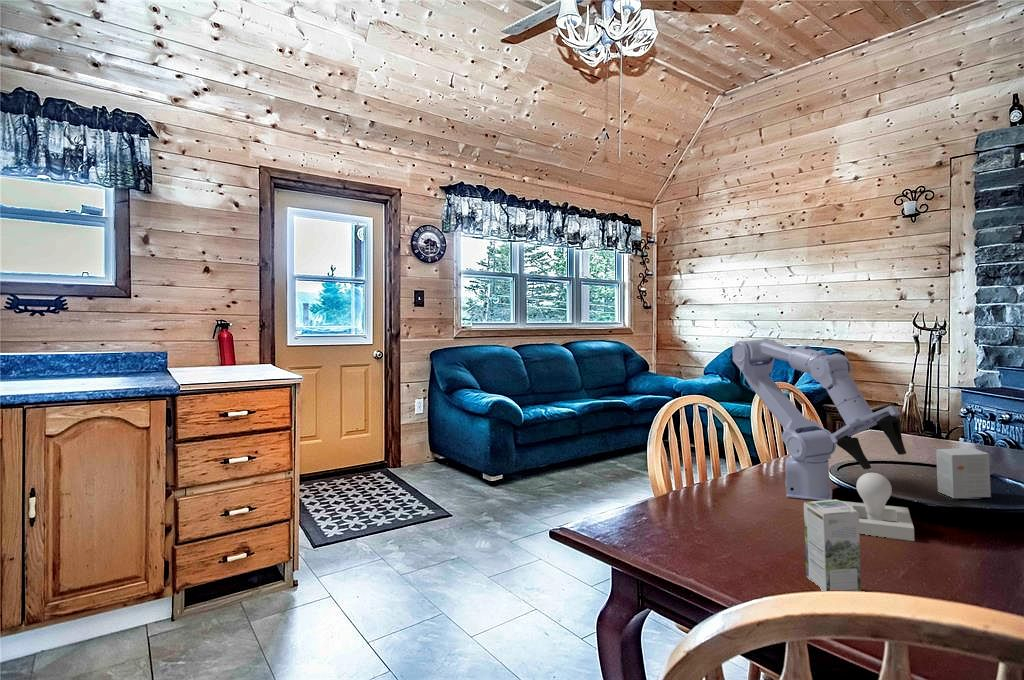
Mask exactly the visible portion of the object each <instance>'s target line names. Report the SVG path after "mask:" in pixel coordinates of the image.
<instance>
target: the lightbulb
mask: <svg viewBox="0 0 1024 680" xmlns="http://www.w3.org/2000/svg"><path fill="white" fill-rule="evenodd" d="M855 486H856V491H857V493H858V495H859V497H860V498H861V499H862V503H864V504H865V508H866V512H867V515H868V516H867V517H868V518H867V519H869V520H878V521H884V520H883V514H884V508H885V505H886V504H887V502H888V500H890V497H891V496H892V493H893V490H892V489H893V488H892V485H891V482H890V481H889V479H888V478H887V477H886V476H884V475H882V474H881V473H877V472H867V473H864V474H862V475H861V476H860V477H858V479H857V480H856V485H855Z"/></svg>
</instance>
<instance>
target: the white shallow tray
mask: <svg viewBox="0 0 1024 680" xmlns="http://www.w3.org/2000/svg"><path fill="white" fill-rule="evenodd" d="M841 501H842V502H844V503H846V504H847V505H849V506H851V507H852V508H853V509H855V510H856V511H857V512H859V533H860V534H865V535H864V536H868V535H871V536H870V537H876V536H878V538H884V537H886V539H891V540H892V539H893V540H899V541H900V540H902V541H907V542H908V541H910V542H915V527H914V524H913V520H912V518H911V513H910V510H909V507H906V506H905V507H904V506H896V505H895V506H894V505H886V504H885V508H884V514H883V521H878V520H869V519H868V517H867V516H868V515H867V512H866V508H865V504H864V502H854V501H846V500H845V501H844V500H841ZM860 534H859V535H860Z"/></svg>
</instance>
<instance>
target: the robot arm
mask: <svg viewBox="0 0 1024 680" xmlns="http://www.w3.org/2000/svg"><path fill="white" fill-rule="evenodd" d="M775 359H777V360H781V361H785V362H788V364H789V366H790V367H791V368H792V369H794V370H797V371H800V372H803V373H806V374H808V375H810V376H811V378H812V379H813V380H815V381H816V382H818V383H819V384H820V385H821V387H822V388H823V389H825V390H826V392H827V393H828V396H829V397H830V399H831V400H832V402H833V404H834V406H835V407H836V409H837V411H838V413H839V414H840V417H841V418H842V419H843V421H844V423H845V425H844V426H842V427H841V428H839V429H838V430H836V431H835V432H830V431H829V430H828V429H826V428H823V427H822V425H821V424H820V423H819V422H817V421H813V420H811V419H808V418H806V417H805V416H804V415H803V413H802V412H800V410H799V409H798V408H797V406H795V404H794V403H793V402H792V401H791V400H790V398H788V396H787V395H786V394H785V393H784V391H783V390H782V389H781V388H780V386H778V384H777V383H776V382H775V381H774V379H772V377H771V376H770V374H771V372H772V371H773V368H774V363H775ZM732 362H733V363H734V364H735V365H736V367H737V368H738V369H739V370H740V371H741V373H742V374H743V376H744V378H745V381H746V382H747V384H748V385H749V386H750V388H751V389H752V391H754V392H755V394H756V395H757V397H758V398H759V399H760V400H761V401H762V403H763V404H764V405H765V406H766V408H767V409H768V410H769V411H770V413H771V414H772V415H773V416H774V418H775V419H776V420H777V422H778V423H779V424H780V425H781V427H782V428H783V429H784V430H783V431H782V434H781V440H782V441H783V442H784V445H785V447H786V450H787V453H789V455H790V456H789V457H788V456H787V457H786V458H785V471H784V472H785V483H784V485H785V490H786V491H785V492H786V496H785V497H787V498H794V499H804V500H805V499H806V500H812V501H813V500H814V501H824V500H833V489H831V488H830V485H831V484H830V467H829V464H830V463H829V462H830V461H829V460H830V459H831V458H832V456H831V455H833V453H834V452H835V451H836V447H837V446H838V447H839V448H841V449H843V450H844V451H845V452H847V453H848V454H849V455H850V456H851V457H852V458H853V459H854V460H855V461H856V462H857V463H858V464H859V466H861V468H862V469H863V470H870V469H872V466H871V464H870V462H869V460H868V458H867V457H866V455H865V453H864V451H863V449H862V446H861V444H860V441H859V438H858V437H853V436H855V435H858V434H860V433H862V432H864V431H866V430H867V429H870V428H872V427H874V426H879V428H880V429H881V430H882V432H883V433H884V434H885V436H886V437H887V438H888V440H889V442H890V443H891V445H892V447H893V449H894V450H895V451H896V453H897V455H900V456H901V455H903V456H904V455H906V454H907V451H906V449H905V445H904V442H903V438H902V429H901V428H902V427H901V426H902V422H901V419H900V418H897V417H898V416H899V415H901V412H900V411H899V409H898V407H896V405H889V406H887V407H885V408H882V409H880V410H876V411H875V412H873V411H872V409H871V407H870V405H869V404H868V402H867V400H866V399H865V397H864V395H863V394H862V392H861V391H860V389H859V386H857V384H856V382H855V381H854V379H853V378H852V375H850V372H851V364H850V360H849V359H848V358H847V357H846V356H845V355H843V354H841V353H840V352H838V353H833V354H828V353H826V351H825V350H818V351H817V350H816V349H811V346H810V345H804V344H803V345H800V346H797V347H795V348H793V347H790V346H788V345H785V344H782V343H779V342H777V341H775V339H769V338H763V339H755V340H744V341H743V340H738V341H736V342H735V343H734V344H733V346H732Z"/></svg>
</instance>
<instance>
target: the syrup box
mask: <svg viewBox="0 0 1024 680" xmlns="http://www.w3.org/2000/svg"><path fill="white" fill-rule="evenodd" d="M842 501H843V500H839V499H832V500H824V501H822V500H814V501H813V500H812V501H804V502H803V524H804V547H805V548H804V549H805V578H806V577H807V578H808V579H809V580H811V581H812V582H814V583H815V584H816V585H818V586H819V587H820V589H821V591H831V590H841V591H861V592H862V587H861V585H862V584H861V583H862V582H861V579H862V578H861V577H862V576H861V546H860V537H861V536H860V534H859V512H857V511H856V510H855V509H853V508H852V507H851V506H849V505H847V504H846V503H844V502H842Z"/></svg>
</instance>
